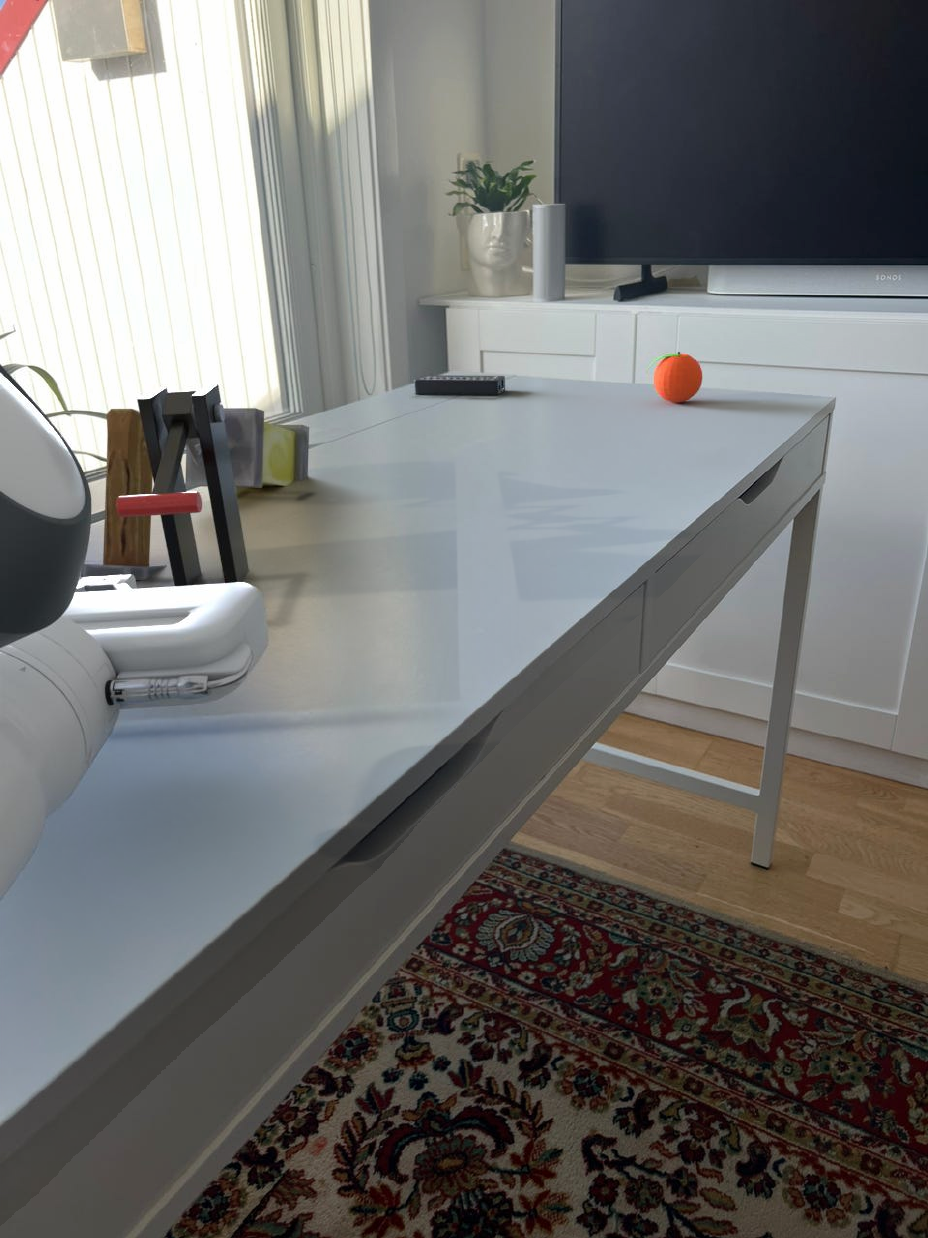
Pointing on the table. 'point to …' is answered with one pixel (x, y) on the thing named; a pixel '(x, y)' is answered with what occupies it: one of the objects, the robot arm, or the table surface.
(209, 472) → the switch bracket
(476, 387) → the multiport hub
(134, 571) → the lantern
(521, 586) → the table surface
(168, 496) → the switch lever
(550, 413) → the table surface
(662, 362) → the clementine
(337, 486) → the table surface
